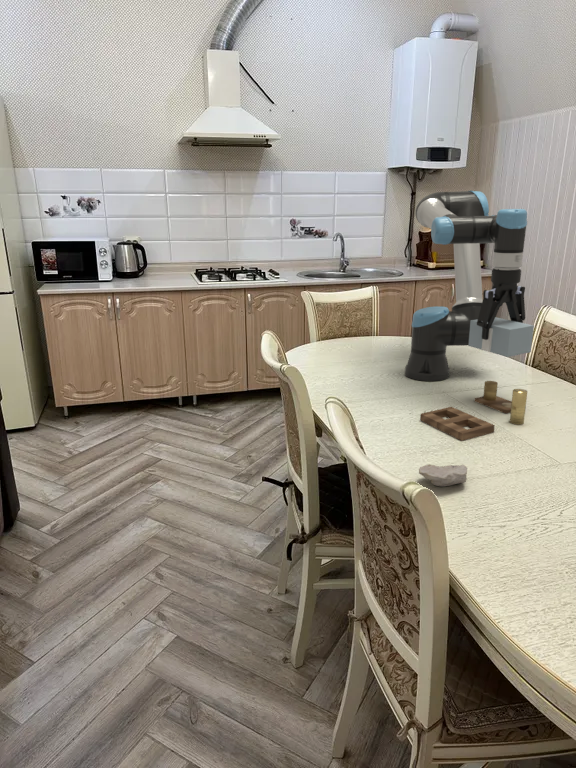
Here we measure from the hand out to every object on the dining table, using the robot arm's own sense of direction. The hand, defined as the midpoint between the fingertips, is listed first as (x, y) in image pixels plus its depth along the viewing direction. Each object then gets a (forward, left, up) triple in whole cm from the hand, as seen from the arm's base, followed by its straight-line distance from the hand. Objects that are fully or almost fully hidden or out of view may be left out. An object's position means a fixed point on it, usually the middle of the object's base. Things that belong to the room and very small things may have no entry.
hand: (498, 347), depth 158 cm
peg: (+13, -5, -17) cm, 22 cm away
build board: (+7, -21, -17) cm, 28 cm away
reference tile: (+1, +1, -17) cm, 17 cm away
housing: (0, 0, 0) cm, 0 cm away
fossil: (+30, -46, -18) cm, 58 cm away
